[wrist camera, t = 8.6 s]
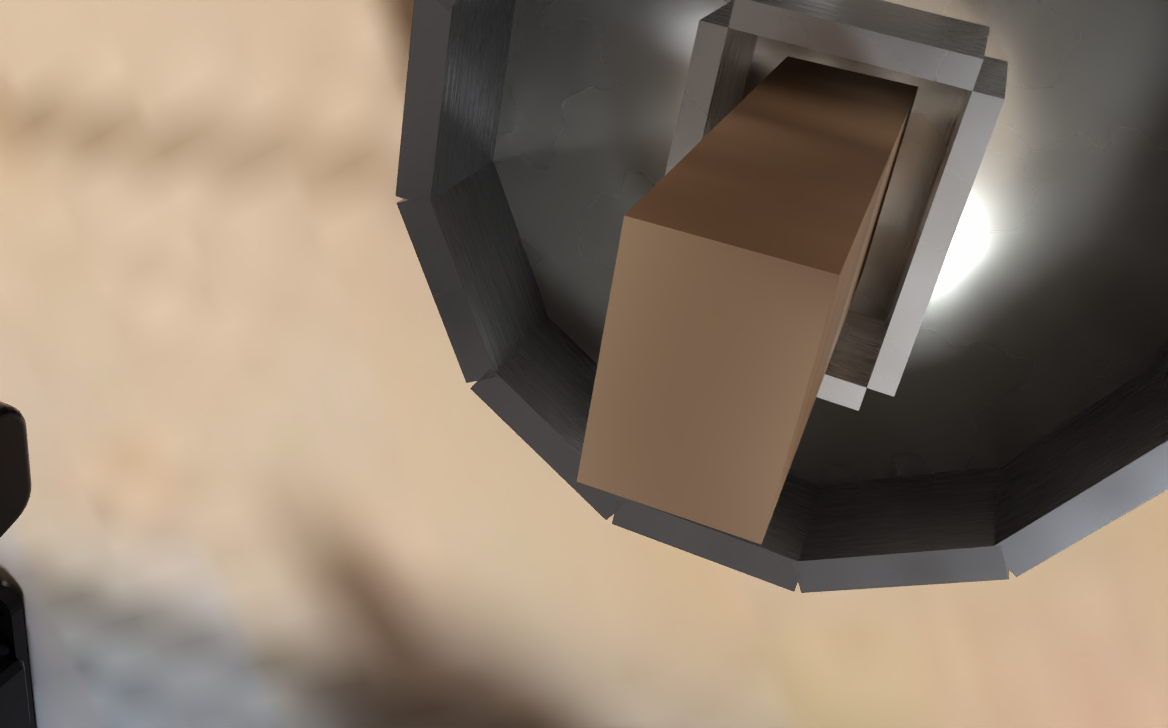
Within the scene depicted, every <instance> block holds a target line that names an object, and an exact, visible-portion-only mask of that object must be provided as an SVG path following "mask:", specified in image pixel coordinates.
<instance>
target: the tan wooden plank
mask: <svg viewBox="0 0 1168 728" xmlns="http://www.w3.org/2000/svg"><path fill="white" fill-rule="evenodd" d="M917 90H918V86H914V85H909V84H905V83H901V82H897V81H892V80H888V79H884V78H879V77H875V76H871V75H866V74H862V73H858V72H853V71H849V70H845V69H841V68H836V67H832V66H828V65H823V64H819V63H815V62H810V61H806V60H802V59H798V58H793V57H789V56H787V57H786V58H785V59H784V60H783V61H782V62H781V63H780V64H779V65H778V66H777V67H776V68H775V69H774V70H773V71H772V72H771V73H770V74H769V75H768V76H767V77H766V78H765V79H764V80H763V81H762V82H761V83H760V84H759V85H758V86H756V87H755V88H754V89H753V90H752V91H751V92H750V93H749V94H748V95H747V96H746V97H745V98H744V99H743V100H742V101H741V102H740V103H739V104H738V105H737V106H736V107H735V108H734V109H733V110H732V111H731V112H730V113H729V114H728V115H727V116H726V117H725V118H724V119H723V120H722V121H721V122H720V123H719V124H718V125H716V126H715V127H714V128H713V129H712V130H711V131H710V132H709V133H708V134H707V135H706V136H705V137H704V138H703V139H702V140H701V141H700V142H699V143H698V144H697V145H696V146H695V147H694V148H693V149H692V150H691V151H690V152H689V153H688V154H687V155H686V156H685V157H684V158H683V159H682V160H681V161H680V162H679V163H678V164H676V165H675V166H674V167H673V168H672V169H671V170H670V171H669V172H668V173H667V174H666V175H665V176H664V177H663V178H662V179H661V180H660V181H659V182H658V183H657V184H656V185H655V186H654V187H653V188H652V189H651V190H650V191H649V192H648V193H647V194H646V195H645V196H644V197H643V198H642V199H641V200H640V201H639V202H638V203H636V204H635V205H634V206H633V207H632V208H631V209H630V210H629V211H628V212H627V213H626V214H625V215H624V219H623V225H622V230H621V236H620V242H619V247H618V253H617V258H616V264H615V270H614V275H613V281H612V286H611V292H610V298H609V303H608V309H607V314H606V320H605V326H604V331H603V337H602V342H601V348H600V354H599V359H598V365H597V370H596V376H595V382H594V387H593V393H592V398H591V404H590V410H589V415H588V421H587V427H586V432H585V438H584V443H583V449H582V455H581V460H580V466H579V471H578V477H577V482H580V483H582V484H585V485H588V486H591V487H594V488H597V489H600V490H603V491H606V492H609V493H612V494H615V495H618V496H621V497H624V498H627V499H629V500H632V501H635V502H638V503H641V504H644V505H647V506H650V507H653V508H656V509H659V510H662V511H665V512H668V513H671V514H673V515H676V516H679V517H682V518H685V519H688V520H691V521H694V522H697V523H700V524H703V525H706V526H709V527H712V528H715V529H717V530H720V531H723V532H726V533H729V534H732V535H735V536H738V537H741V538H744V539H747V540H750V541H753V542H756V543H759V544H762V542H763V539H764V536H765V534H766V531H767V528H768V526H769V523H770V520H771V517H772V515H773V512H774V509H775V507H776V504H777V501H778V499H779V496H780V493H781V491H782V488H783V485H784V482H785V480H786V477H787V474H788V472H789V469H790V466H791V464H792V461H793V458H794V456H795V453H796V450H797V447H798V445H799V442H800V439H801V437H802V434H803V431H804V429H805V426H806V423H807V421H808V418H809V415H810V413H811V410H812V407H813V404H814V402H815V399H816V396H817V394H818V391H819V388H820V386H821V383H822V380H823V378H824V375H825V372H826V369H827V367H828V364H829V361H830V359H831V356H832V353H833V351H834V348H835V345H836V343H837V340H838V337H839V334H840V332H841V329H842V326H843V324H844V321H845V318H846V316H847V313H848V310H849V308H850V305H851V302H852V299H853V297H854V294H855V291H856V289H857V286H858V283H859V281H860V278H861V275H862V273H863V270H864V267H865V263H866V260H867V257H868V253H869V250H870V247H871V243H872V240H873V237H874V233H875V230H876V227H877V223H878V220H879V217H880V213H881V210H882V207H883V203H884V200H885V197H886V193H887V190H888V187H889V184H890V180H891V177H892V174H893V170H894V167H895V164H896V160H897V157H898V154H899V150H900V147H901V144H902V140H903V137H904V134H905V130H906V127H907V124H908V120H909V117H910V114H911V110H912V107H913V104H914V100H915V97H916V94H917Z"/></svg>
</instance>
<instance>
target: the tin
mask: <svg viewBox="0 0 1168 728" xmlns="http://www.w3.org/2000/svg"><path fill="white" fill-rule="evenodd" d="M787 56H789V57H793V58H798V59H802V60H806V61H810V62H815V63H819V64H823V65H828V66H832V67H836V68H841V69H845V70H849V71H853V72H858V73H862V74H866V75H871V76H875V77H879V78H884V79H888V80H892V81H897V82H901V83H905V84H909V85H914V86H918V90H917V94H916V97H915V100H914V104H913V107H912V110H911V114H910V117H909V120H908V124H907V127H906V130H905V134H904V137H903V140H902V144H901V147H900V150H899V154H898V157H897V160H896V164H895V167H894V170H893V174H892V177H891V180H890V184H889V187H888V190H887V193H886V197H885V200H884V203H883V207H882V210H881V213H880V217H879V220H878V223H877V227H876V230H875V233H874V237H873V240H872V243H871V247H870V250H869V253H868V257H867V260H866V263H865V267H864V270H863V273H862V275H861V278H860V281H859V283H858V286H857V289H856V291H855V294H854V297H853V299H852V302H851V305H850V308H849V310H848V313H847V316H846V318H845V321H844V324H843V326H842V329H841V332H840V334H839V337H838V340H837V343H836V345H835V348H834V351H833V353H832V356H831V359H830V361H829V364H828V367H827V369H826V372H825V375H824V378H823V380H822V383H821V386H820V388H819V391H818V394H817V396H816V399H815V402H814V404H813V407H812V410H811V413H810V415H809V418H808V421H807V423H806V426H805V429H804V431H803V434H802V437H801V439H800V442H799V445H798V447H797V450H796V453H795V456H794V458H793V461H792V464H791V466H790V469H789V472H788V474H787V477H786V480H785V482H784V485H783V488H782V491H781V493H780V496H779V499H778V501H777V504H776V507H775V509H774V512H773V515H772V517H771V520H770V523H769V526H768V528H767V531H766V534H765V536H764V539H763V542H762V544H759V543H756V542H753V541H750V540H747V539H744V538H741V537H738V536H735V535H732V534H729V533H726V532H723V531H720V530H717V529H715V528H712V527H709V526H706V525H703V524H700V523H697V522H694V521H691V520H688V519H685V518H682V517H679V516H676V515H673V514H671V513H668V512H665V511H662V510H659V509H656V508H653V507H650V506H647V505H644V504H641V503H638V502H635V501H632V500H629V499H627V498H624V497H621V496H618V495H615V494H612V493H609V492H606V491H603V490H600V489H597V488H594V487H591V486H588V485H585V484H582V483H580V482H577V477H578V471H579V466H580V460H581V455H582V449H583V443H584V438H585V432H586V427H587V421H588V415H589V410H590V404H591V398H592V393H593V387H594V382H595V376H596V370H597V365H598V359H599V354H600V348H601V342H602V337H603V331H604V326H605V320H606V314H607V309H608V303H609V298H610V292H611V286H612V281H613V275H614V270H615V264H616V258H617V253H618V247H619V242H620V236H621V230H622V225H623V219H624V215H625V214H626V213H627V212H628V211H629V210H630V209H631V208H632V207H633V206H634V205H635V204H636V203H638V202H639V201H640V200H641V199H642V198H643V197H644V196H645V195H646V194H647V193H648V192H649V191H650V190H651V189H652V188H653V187H654V186H655V185H656V184H657V183H658V182H659V181H660V180H661V179H662V178H663V177H664V176H665V175H666V174H667V173H668V172H669V171H670V170H671V169H672V168H673V167H674V166H675V165H676V164H678V163H679V162H680V161H681V160H682V159H683V158H684V157H685V156H686V155H687V154H688V153H689V152H690V151H691V150H692V149H693V148H694V147H695V146H696V145H697V144H698V143H699V142H700V141H701V140H702V139H703V138H704V137H705V136H706V135H707V134H708V133H709V132H710V131H711V130H712V129H713V128H714V127H715V126H716V125H718V124H719V123H720V122H721V121H722V120H723V119H724V118H725V117H726V116H727V115H728V114H729V113H730V112H731V111H732V110H733V109H734V108H735V107H736V106H737V105H738V104H739V103H740V102H741V101H742V100H743V99H744V98H745V97H746V96H747V95H748V94H749V93H750V92H751V91H752V90H753V89H754V88H755V87H756V86H758V85H759V84H760V83H761V82H762V81H763V80H764V79H765V78H766V77H767V76H768V75H769V74H770V73H771V72H772V71H773V70H774V69H775V68H776V67H777V66H778V65H779V64H780V63H781V62H782V61H783V60H784V59H785V58H786V57H787ZM396 196H398V197H401V198H404V199H403V200H401V201H399V202H398V203H397V205H398V208H399V210H400V213H401V215H402V218H403V221H404V223H405V226H406V228H407V231H408V233H409V236H410V239H411V241H412V244H413V246H414V249H415V251H416V254H417V257H418V259H419V262H420V264H421V267H422V269H423V272H424V275H425V277H426V280H427V282H428V285H429V287H430V290H431V293H432V295H433V298H434V300H435V303H436V305H437V308H438V311H439V313H440V316H441V318H442V321H443V324H444V326H445V329H446V331H447V334H448V336H449V339H450V342H451V344H452V347H453V349H454V352H455V354H456V357H457V360H458V362H459V365H460V367H461V370H462V372H463V375H464V378H465V380H466V383H468V382H473V381H477V382H476V383H475V384H474V385H473V386H472V387H471V388H470V389H471V390H472V391H473V392H474V393H476V394H477V395H478V396H479V397H480V398H481V399H482V400H483V401H484V402H485V403H486V404H487V405H488V406H489V407H490V408H491V409H492V410H493V411H494V412H495V413H496V414H497V415H498V416H499V417H500V418H501V419H502V420H503V421H504V422H505V423H506V424H508V425H509V426H510V427H511V428H512V429H513V430H514V431H515V432H516V433H517V434H518V435H519V436H520V437H521V438H522V439H523V440H524V441H525V442H526V443H527V444H528V445H529V446H530V447H531V448H532V449H533V450H534V451H535V452H536V453H537V454H538V455H539V456H541V457H542V458H543V459H544V460H545V461H546V462H547V463H548V464H549V465H550V466H551V467H552V468H553V469H554V470H555V471H556V472H557V473H558V474H559V475H560V476H561V477H562V478H563V479H564V480H565V481H566V482H567V483H568V484H569V485H570V486H571V487H572V488H574V489H575V490H576V491H577V492H578V493H579V494H580V495H581V496H582V497H583V498H584V499H585V500H586V501H587V502H588V503H589V504H590V505H591V506H592V507H593V508H594V509H595V510H596V511H597V512H598V513H599V514H600V515H601V516H602V517H603V518H604V519H606V520H607V519H608V518H609V517H610V516H612V515H613V514H614V517H613V522H612V524H614V525H617V526H619V527H622V528H625V529H627V530H630V531H633V532H635V533H638V534H641V535H644V536H646V537H649V538H652V539H654V540H657V541H660V542H662V543H665V544H668V545H670V546H673V547H676V548H678V549H681V550H684V551H686V552H689V553H692V554H695V555H697V556H700V557H703V558H705V559H708V560H711V561H713V562H716V563H719V564H721V565H724V566H727V567H729V568H732V569H735V570H737V571H740V572H743V573H746V574H748V575H751V576H754V577H756V578H759V579H762V580H764V581H767V582H770V583H772V584H775V585H778V586H780V587H783V588H786V589H789V590H791V591H795V588H796V585H797V582H798V583H799V586H800V590H801V593H805V592H821V591H836V590H851V589H867V588H882V587H897V586H912V585H928V584H943V583H958V582H974V581H989V580H1004V579H1009V570H1010V571H1011V572H1012V573H1013V574H1014V575H1015V576H1016V577H1017V576H1019V575H1021V574H1022V573H1024V572H1026V571H1028V570H1029V569H1031V568H1033V567H1035V566H1036V565H1038V564H1040V563H1041V562H1043V561H1045V560H1047V559H1048V558H1050V557H1052V556H1053V555H1055V554H1057V553H1059V552H1060V551H1062V550H1064V549H1066V548H1067V547H1069V546H1071V545H1072V544H1074V543H1076V542H1078V541H1079V540H1081V539H1083V538H1084V537H1086V536H1088V535H1090V534H1091V533H1093V532H1095V531H1097V530H1098V529H1100V528H1102V527H1103V526H1105V525H1107V524H1109V523H1110V522H1112V521H1114V520H1115V519H1117V518H1119V517H1121V516H1122V515H1124V514H1126V513H1128V512H1129V511H1131V510H1133V509H1134V508H1136V507H1138V506H1140V505H1141V504H1143V503H1145V502H1146V501H1148V500H1150V499H1152V498H1153V497H1155V496H1157V495H1159V494H1160V493H1162V492H1164V491H1165V490H1167V489H1168V0H414V9H413V19H412V30H411V40H410V51H409V61H408V72H407V82H406V93H405V103H404V114H403V124H402V135H401V145H400V156H399V166H398V177H397V187H396Z"/></svg>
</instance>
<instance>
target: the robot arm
mask: <svg viewBox="0 0 1168 728" xmlns="http://www.w3.org/2000/svg"><path fill="white" fill-rule="evenodd" d="M30 493H31V475H30V464H29V453H28V441H27V430H26V423H25V420H24V417H23V416H22V414H21V413H20V411H19V410H17V409H16V408H15V407H13V406H11V405H8V404H5V403H3V402H0V537H1V536H2V535H3V534H4V533H5V532H6V531H7V530H8V529H9V527H10V526H11V525H12V524H13V523H14V522H15V521H16V520H17V519H18V517H19V516H20V515H21V514H22V512H23V510H24V509H25V507H26V505H27V503H28V500H29V498H30ZM0 728H35V720H34V710H33V701H32V691H31V682H30V673H29V663H28V654H27V644H26V635H25V625H24V616H23V607H22V604H21V601H20V599H19V598H18V596H17V595H16V594H15V593H14V592H13V591H12V590H10V589H9V588H7V587H5V586H3V585H0Z"/></svg>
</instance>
